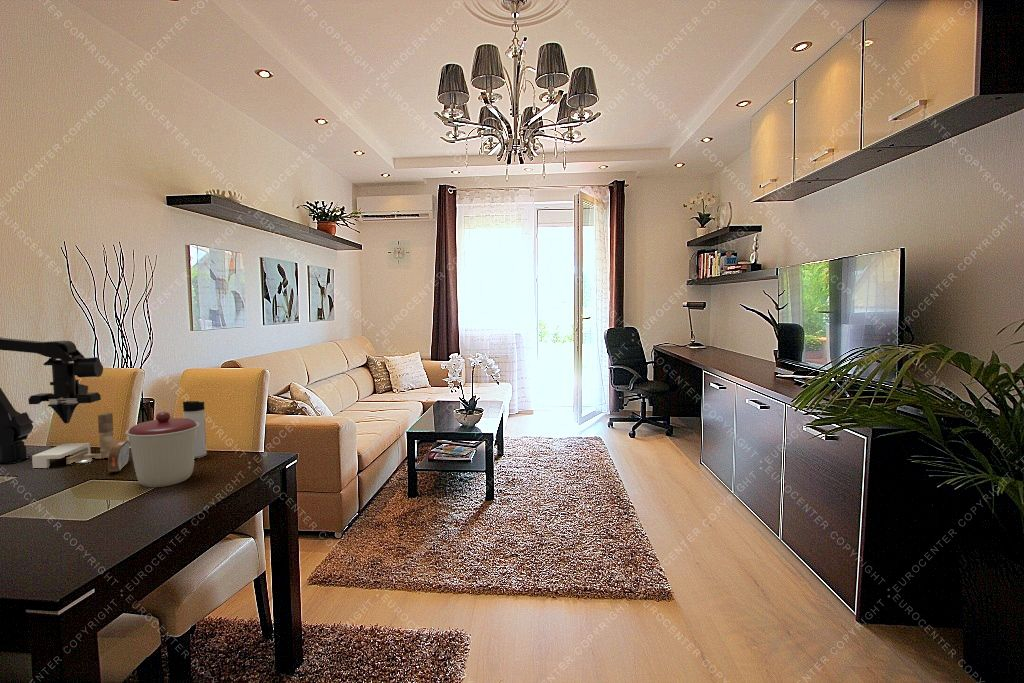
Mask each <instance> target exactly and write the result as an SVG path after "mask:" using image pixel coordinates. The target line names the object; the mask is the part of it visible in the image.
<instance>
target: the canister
mask: <svg viewBox="0 0 1024 683" xmlns="http://www.w3.org/2000/svg"><path fill="white" fill-rule="evenodd" d="M155 418H156V419H153V420H147V421H143V422H139V423H137V424H135V425H133V426H131V427H130V428H129V429H127V430H125V433H124V434H125V435H126V436H128V441H129V442H130V453H131V457H132V462H133V467H134V471H135V475H136V479H137V480H138V482H139V484H140V485H141V486H143V487H147V488H161V487H162V488H163V487H168V486H172V485H177V484H180V483H182V482H185V481H186V480H187V479H189V478H190V477H191V476H192V475H193V472H194V467H195V460H194V459H195V448H196V436H197V428H198V427H199V425H200V424H199V423H198V422H195V421H194V420H191V419H186V418H184V417H171V414H170V413H169V412H168V411H160V412H158V413H157V414H156V415H155Z"/></svg>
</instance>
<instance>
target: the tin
mask: <svg viewBox="0 0 1024 683" xmlns="http://www.w3.org/2000/svg"><path fill="white" fill-rule="evenodd" d="M130 451H131V447H130V442H129V439H127V440H126V439H125V440H120V439H119V440H117V441H116V442H114V445H113V446H112V447H111V449H110V451H109V456H108V459H107V470H108V472H109V473H115V472H116V473H117V472H118V471H119V472H121V471H122V470H123V469H124V468H125V467H126V466H127V465H128V463H129V461H130V456H131V454H130ZM126 464H127V465H126ZM125 465H126V466H125ZM124 466H125V467H124ZM123 467H124V468H123ZM122 468H123V469H122ZM121 469H122V470H121Z"/></svg>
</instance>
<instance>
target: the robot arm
mask: <svg viewBox="0 0 1024 683" xmlns="http://www.w3.org/2000/svg"><path fill="white" fill-rule="evenodd" d="M0 351H8V352H9V351H10V352H19V353H31V354H38V355H40V356H42V357H46V358H48V360H47V361H45V362H44V363H43V365H44V366H51V373H52V381H50V382H49V386H52V388H53V393H52V392H49V393H41V392H40V393H37V394H33V395H30V396H29V398H28V400H27V401H28V405H40V404H41V403H42V402H49V404H47V406H48V407H50V408H51V409H52V410H53V411H54V412H55V413H56V414H57V415H58V417H59V419H61V421H62V422H63V424H69V423H70V422H71V419H72V416H73V414H74V412H75V410H76V408H77V406H79V404H91V403H92V404H93V403H95V402H99V401H101V400H102V398H101V397H102V396H101V394H100V393H99V392H97V391H96V392H94V391H93V392H88V391H89V386H88V385H85V384H82V383H80V382H79V379H76V376H77V377H78V378H100V377H102V375H103V372H104V371H103V370H104V366H103V364H102V362H101V361H100V357H99V356H93V357H85V356H84V354H82V353H81V351H79V349H78V348H77V346H76V343H74V341H71V340H54V341H53V340H51V341H37V340H30V339H29V340H28V339H26V340H25V339H18V338H7V337H1V336H0ZM33 423H34V421H33V420H32V419H31V418H30V416H29V414H28V412H26V411H25V412H22V413H20V412H19V411H17V410H16V409H15V408H14V406H13V405H12V403H11V402H10V400H9V398H8V397H7V395H6V394H5V392H4V391H3V389H2V388H1V387H0V463H8V464H15V463H14V462H16V463H18V462H17V461H19V460H22V459H24V458H26V457H27V446H26V445H25V441H26V440H27V439H28V436H29V435H30V433H32V431H33V429H34V425H33ZM24 460H25V459H24ZM22 461H23V460H22ZM19 462H20V461H19Z"/></svg>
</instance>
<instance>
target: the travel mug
mask: <svg viewBox="0 0 1024 683" xmlns="http://www.w3.org/2000/svg"><path fill="white" fill-rule="evenodd" d="M182 407H183V411H182V412H183V415H182V416H183V417H182V418H186V419H191V420H194V421H195V422H198V423H199V424H200V425H199V427H198V428H197V436H196V448H195V458H200V457H204V456H206V455H208V453H207V435H206V434H207V433H206V432H207V430H206V409H205V401H199V400H190V401H189V400H188V401H183V402H182ZM206 457H207V456H206ZM204 458H205V457H204Z"/></svg>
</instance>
